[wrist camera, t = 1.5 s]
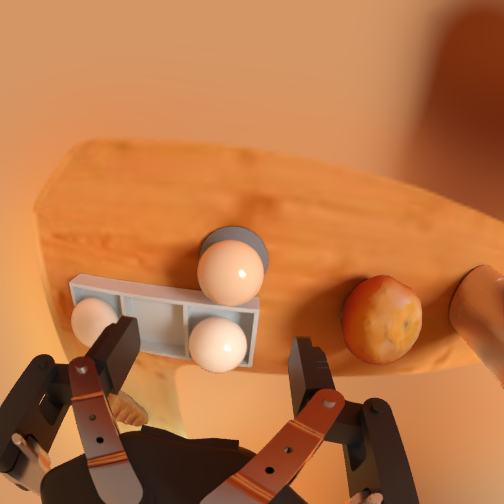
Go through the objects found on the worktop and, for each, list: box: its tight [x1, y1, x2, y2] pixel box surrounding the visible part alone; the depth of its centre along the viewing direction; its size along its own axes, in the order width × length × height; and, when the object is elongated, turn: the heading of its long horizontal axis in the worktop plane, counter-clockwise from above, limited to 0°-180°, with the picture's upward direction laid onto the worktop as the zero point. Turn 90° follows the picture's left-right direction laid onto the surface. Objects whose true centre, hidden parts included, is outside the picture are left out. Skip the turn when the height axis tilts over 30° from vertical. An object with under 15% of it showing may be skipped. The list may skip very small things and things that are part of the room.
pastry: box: [108, 390, 148, 426], centre depth 31 cm, size 9×7×4 cm
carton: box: [69, 273, 260, 367], centre depth 25 cm, size 19×7×2 cm, turn 85°
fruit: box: [340, 275, 422, 365], centre depth 23 cm, size 8×8×8 cm
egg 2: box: [189, 316, 247, 373], centre depth 23 cm, size 5×5×5 cm
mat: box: [199, 226, 268, 274], centre depth 24 cm, size 6×6×1 cm
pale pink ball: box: [197, 240, 264, 307], centre depth 21 cm, size 5×5×5 cm
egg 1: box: [71, 297, 119, 348], centre depth 23 cm, size 5×5×5 cm
